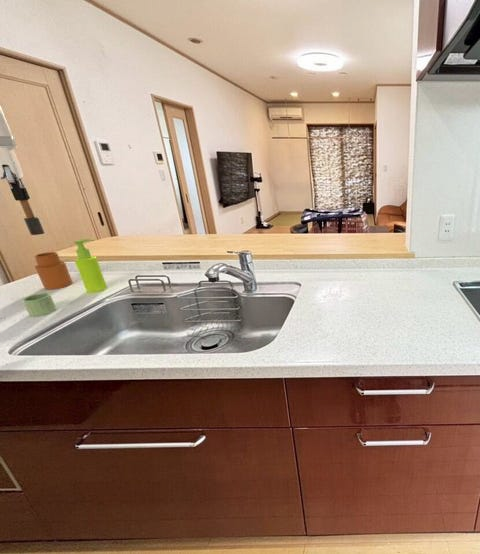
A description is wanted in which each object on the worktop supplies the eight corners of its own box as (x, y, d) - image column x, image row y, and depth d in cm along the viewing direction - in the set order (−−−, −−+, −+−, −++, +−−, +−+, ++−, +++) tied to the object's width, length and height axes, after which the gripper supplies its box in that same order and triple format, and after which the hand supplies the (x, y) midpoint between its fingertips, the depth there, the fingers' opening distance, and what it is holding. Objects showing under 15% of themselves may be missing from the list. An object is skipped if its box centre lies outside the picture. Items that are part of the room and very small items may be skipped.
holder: (28, 320, 93) (20, 303, 91) (31, 312, 97) (23, 296, 95) (56, 314, 97) (49, 297, 94) (57, 307, 101) (51, 291, 99)
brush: (30, 235, 107) (7, 183, 100) (31, 233, 110) (9, 183, 103) (44, 234, 109) (23, 183, 103) (45, 232, 112) (24, 182, 105)
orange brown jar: (43, 291, 112) (29, 259, 107) (45, 284, 118) (32, 253, 113) (72, 285, 117) (59, 254, 112) (73, 280, 123) (61, 250, 118)
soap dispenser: (113, 289, 115) (95, 239, 108) (90, 295, 110) (70, 243, 102) (107, 285, 118) (89, 236, 110) (84, 291, 113) (65, 240, 105)
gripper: (-13, 143, 101) (11, 198, 108) (-26, 141, 90) (2, 203, 97) (19, 144, 106) (40, 196, 113) (11, 142, 95) (35, 201, 102)
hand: (22, 199), depth 105 cm, fingers closed on brush, 2 cm apart
